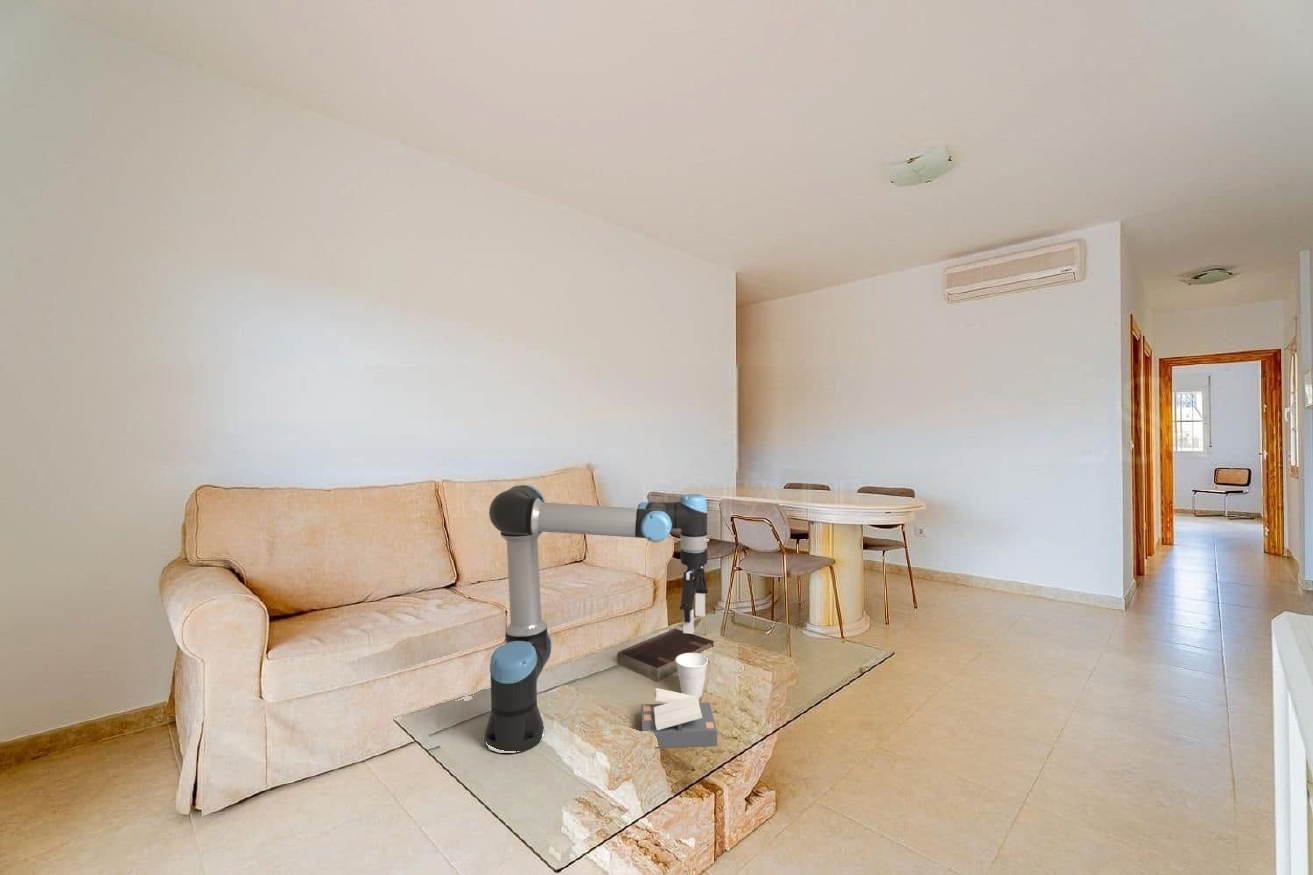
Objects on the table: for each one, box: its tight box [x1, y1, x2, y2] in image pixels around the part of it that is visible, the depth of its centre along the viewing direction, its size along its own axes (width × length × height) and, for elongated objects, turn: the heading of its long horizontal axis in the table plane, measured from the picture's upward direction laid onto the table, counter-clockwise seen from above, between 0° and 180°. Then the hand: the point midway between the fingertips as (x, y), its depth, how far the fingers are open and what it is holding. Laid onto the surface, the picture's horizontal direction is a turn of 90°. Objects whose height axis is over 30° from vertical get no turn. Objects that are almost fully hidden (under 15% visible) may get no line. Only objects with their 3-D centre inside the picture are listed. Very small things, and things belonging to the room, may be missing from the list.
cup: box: [675, 653, 709, 700], centre depth 168 cm, size 10×10×11 cm
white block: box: [654, 695, 700, 716], centre depth 148 cm, size 12×4×2 cm, turn 92°
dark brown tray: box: [616, 628, 715, 682], centre depth 194 cm, size 29×19×5 cm, turn 136°
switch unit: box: [640, 702, 718, 749], centre depth 149 cm, size 19×14×6 cm
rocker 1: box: [654, 687, 700, 704], centre depth 153 cm, size 12×4×2 cm, turn 94°
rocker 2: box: [655, 704, 702, 730], centre depth 144 cm, size 12×4×2 cm, turn 92°
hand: (694, 624), depth 157 cm, fingers open, 13 cm apart
